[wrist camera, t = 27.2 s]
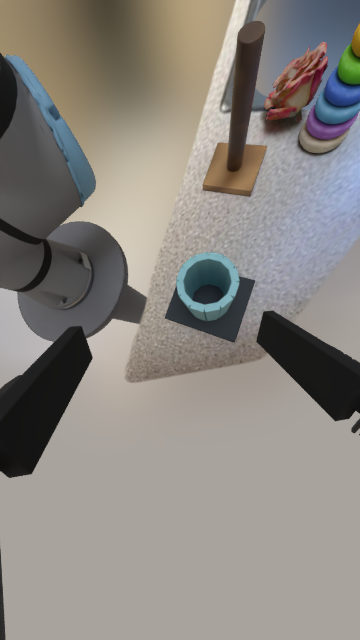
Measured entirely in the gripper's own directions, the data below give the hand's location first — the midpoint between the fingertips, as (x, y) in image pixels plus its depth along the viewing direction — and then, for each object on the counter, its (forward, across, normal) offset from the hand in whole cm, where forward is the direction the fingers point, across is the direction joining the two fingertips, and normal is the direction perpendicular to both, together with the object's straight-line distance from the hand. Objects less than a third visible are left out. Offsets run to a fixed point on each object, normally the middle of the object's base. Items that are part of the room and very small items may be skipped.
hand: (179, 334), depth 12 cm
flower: (+35, +27, +28) cm, 52 cm away
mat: (+18, +8, -5) cm, 21 cm away
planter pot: (+18, +8, -4) cm, 20 cm away
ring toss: (+32, +16, +19) cm, 41 cm away
